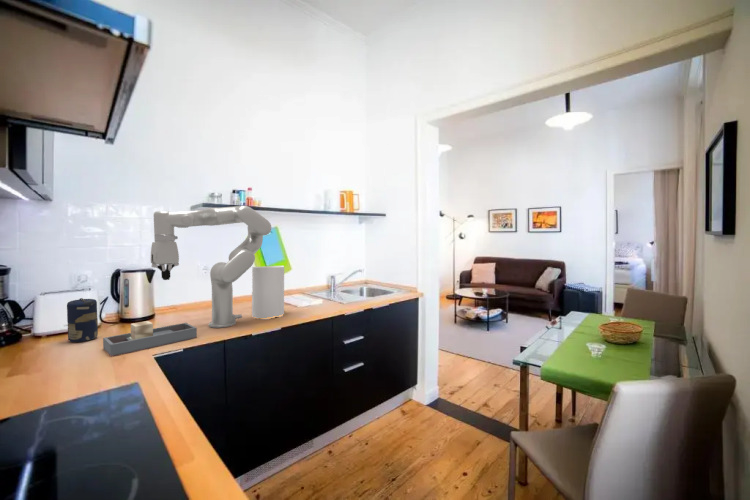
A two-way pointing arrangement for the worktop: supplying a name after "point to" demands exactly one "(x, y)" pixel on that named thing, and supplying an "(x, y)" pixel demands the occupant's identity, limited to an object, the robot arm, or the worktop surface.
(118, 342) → the grey shallow tray
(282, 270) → the cylinder
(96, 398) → the worktop surface
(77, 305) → the canister
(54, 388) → the worktop surface
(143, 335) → the birch block
